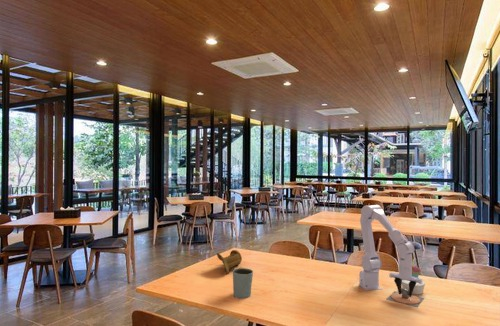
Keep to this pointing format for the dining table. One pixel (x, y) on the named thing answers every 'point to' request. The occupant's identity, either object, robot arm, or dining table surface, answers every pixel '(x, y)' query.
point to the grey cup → (242, 282)
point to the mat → (404, 303)
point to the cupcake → (415, 270)
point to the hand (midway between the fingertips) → (405, 295)
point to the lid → (405, 297)
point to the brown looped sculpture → (231, 260)
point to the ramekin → (417, 289)
